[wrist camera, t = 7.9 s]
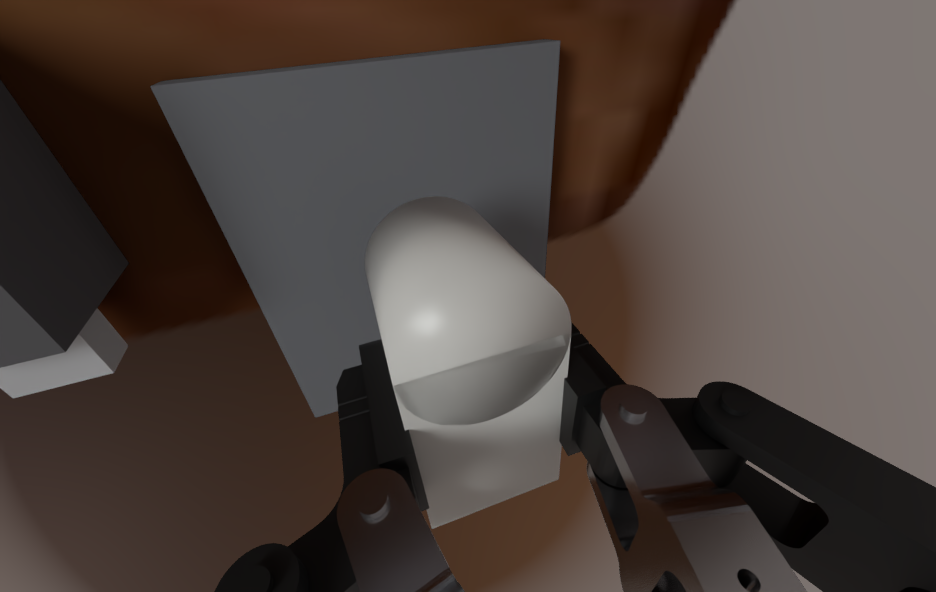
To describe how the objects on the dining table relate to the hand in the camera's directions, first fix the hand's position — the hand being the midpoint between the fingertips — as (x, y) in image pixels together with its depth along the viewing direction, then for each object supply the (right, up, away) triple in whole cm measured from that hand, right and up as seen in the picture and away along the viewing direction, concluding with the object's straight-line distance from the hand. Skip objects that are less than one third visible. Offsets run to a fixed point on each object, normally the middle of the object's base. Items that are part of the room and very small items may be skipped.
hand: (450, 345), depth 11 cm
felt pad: (-2, +3, +4) cm, 5 cm away
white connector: (0, 0, +1) cm, 1 cm away
